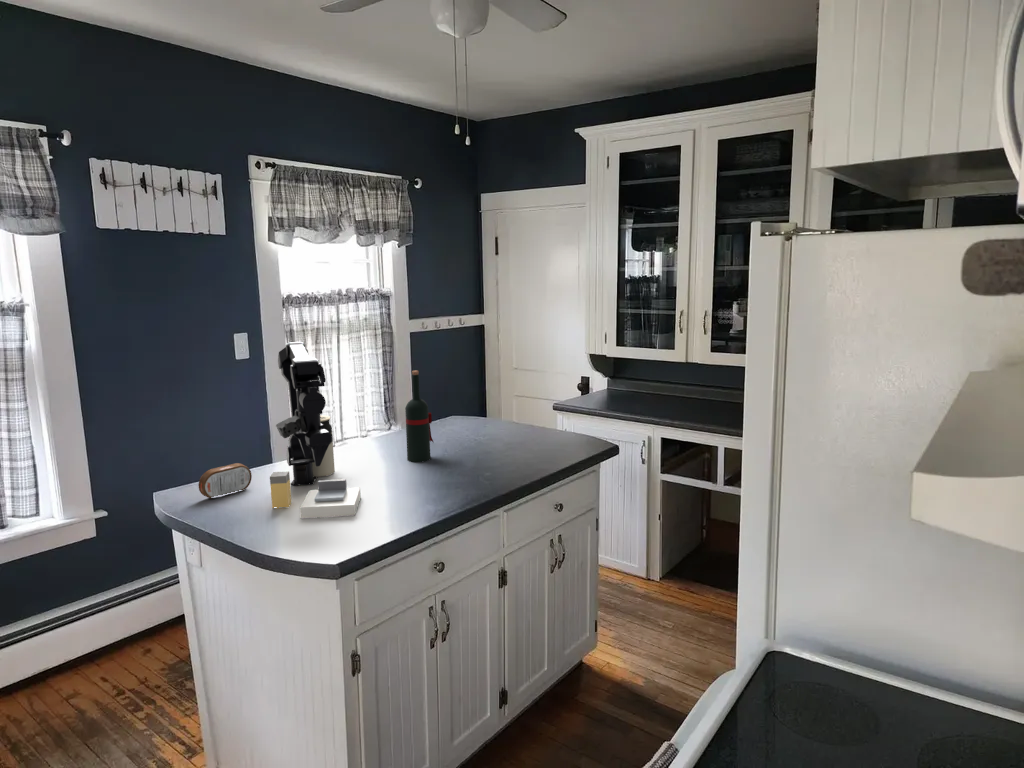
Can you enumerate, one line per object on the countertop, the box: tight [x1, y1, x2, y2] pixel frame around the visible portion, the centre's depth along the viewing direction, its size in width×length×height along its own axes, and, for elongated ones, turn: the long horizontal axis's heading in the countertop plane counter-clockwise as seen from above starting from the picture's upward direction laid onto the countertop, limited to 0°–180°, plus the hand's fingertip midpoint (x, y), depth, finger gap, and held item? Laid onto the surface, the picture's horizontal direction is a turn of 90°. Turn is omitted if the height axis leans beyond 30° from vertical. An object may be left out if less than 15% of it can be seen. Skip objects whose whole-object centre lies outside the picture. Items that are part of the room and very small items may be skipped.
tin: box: [197, 462, 253, 499], centre depth 195 cm, size 15×3×8 cm, turn 141°
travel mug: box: [312, 414, 336, 478], centre depth 212 cm, size 8×8×18 cm
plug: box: [269, 471, 292, 509], centre depth 185 cm, size 4×4×9 cm
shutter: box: [315, 478, 348, 502], centre depth 182 cm, size 7×7×3 cm
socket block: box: [299, 487, 362, 519], centre depth 183 cm, size 14×14×3 cm
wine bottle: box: [405, 370, 434, 463], centre depth 226 cm, size 8×10×30 cm
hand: (312, 461), depth 184 cm, fingers open, 9 cm apart
